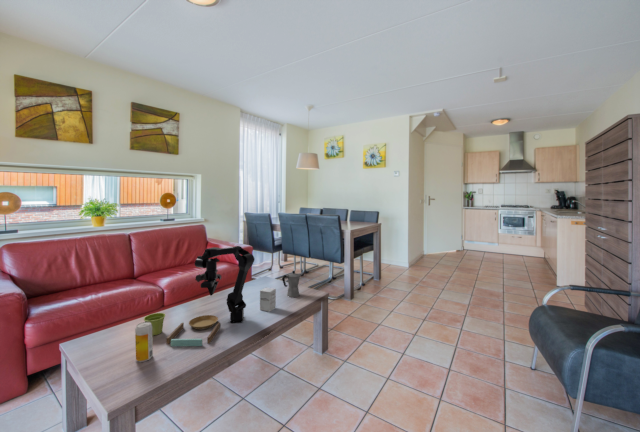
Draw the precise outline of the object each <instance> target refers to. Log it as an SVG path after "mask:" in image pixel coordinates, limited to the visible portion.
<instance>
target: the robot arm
mask: <svg viewBox="0 0 640 432" xmlns="http://www.w3.org/2000/svg"><path fill="white" fill-rule="evenodd" d="M223 255H225V256H226V255H233V256H234V257H235V260H236V261H237V262H238V263H237V264H238V272H237V276H236V281H235V283H234V287H233V291H232V292H230V293H228V294H227V298H226V305H227V308H228V312H229V317H230V318H229V319H230V320H229V321H230V323H232V324H235V323H237V324H238V323H240V324H241V323H243V321H244V319H245V316H244V314H245V313H244V312H245V311H244V310H245V308H246V306H247V303H246V302H245V301H244V300H243V298H244V297H243V289H244V286H245V283H246V280H247V275H248V272H249V271H250V269H251V268H252V266H253V265H254V262H255V257H254V255H253V254H252V253H250V251H248V250H246V249H244V248H243V247H242V246H241V245H236V246H232V247H216V246H214V247H209V248H205V249H204V252H203V254H202V255H198V256H197V257H196V259H195V260H194V266H195V267H196V268H200V269H205V271H204V273H200V274H198V275H197V274H196V275H195V281H196V282H197V283H199V282H202V281H203V282H202V283H200V288H201V289H207V290H208V292H209V293H208V294H209V295H210V296H211V297H212V296H213V295H214V293H215V291H216V289H217V287H218V284H219V283H220V282H219V281H220V280H222V274H220V273H218V271H219V269H218V268H217V267H218V266H217V265H218V264H217V263H218V262H220V259H219V258H218V256H223ZM217 280H219V281H217Z"/></svg>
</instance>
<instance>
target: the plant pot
mask: <svg viewBox="0 0 640 432" xmlns="http://www.w3.org/2000/svg"><path fill="white" fill-rule="evenodd" d="M165 317H166V313H164V312H156V313H150V314H148V315H146V316H144V317H143V322H151V324H152V337H154V336H157V335H160V334H162V332H163V327H164V321H165Z"/></svg>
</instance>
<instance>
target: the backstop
mask: <svg viewBox="0 0 640 432" xmlns="http://www.w3.org/2000/svg"><path fill="white" fill-rule="evenodd" d="M202 346H203V338H174V339H171V342H170V347H202Z"/></svg>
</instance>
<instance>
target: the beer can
mask: <svg viewBox="0 0 640 432" xmlns="http://www.w3.org/2000/svg"><path fill="white" fill-rule="evenodd" d="M134 333H135V335H134V338H135V339H134V340H135V341H134V342H135V360H136V361H137V362H139V363H143V362H147V361H149V360H151V359H152V357H153V356H154V350H153V349H154V347H153V346H154V345H153V336H152V324H151V322H145V321H143V322H140V323H139V322H138V323H137V324H136V326H135V328H134Z"/></svg>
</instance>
